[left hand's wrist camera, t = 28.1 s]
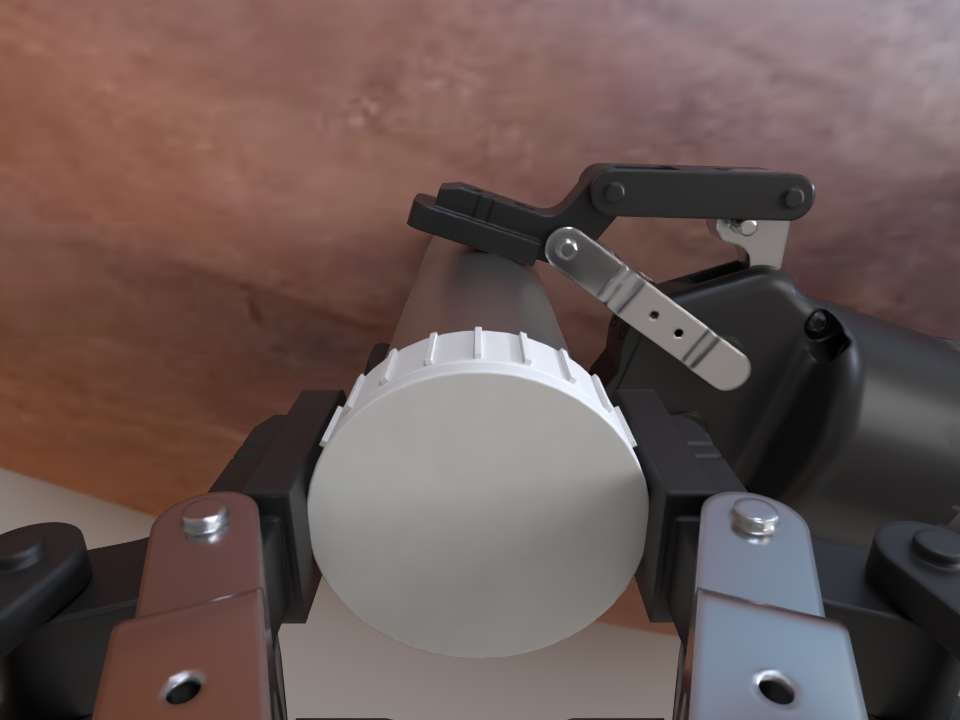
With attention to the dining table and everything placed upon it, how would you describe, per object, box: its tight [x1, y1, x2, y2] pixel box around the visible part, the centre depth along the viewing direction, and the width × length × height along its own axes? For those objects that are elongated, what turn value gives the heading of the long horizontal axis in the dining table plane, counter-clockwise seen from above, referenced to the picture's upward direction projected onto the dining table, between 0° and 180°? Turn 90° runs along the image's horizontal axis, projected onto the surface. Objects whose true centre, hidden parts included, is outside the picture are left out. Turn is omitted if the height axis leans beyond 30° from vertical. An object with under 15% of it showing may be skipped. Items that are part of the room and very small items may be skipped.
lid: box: [307, 327, 649, 658], centre depth 10 cm, size 5×5×2 cm
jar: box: [385, 235, 572, 360], centre depth 18 cm, size 4×4×16 cm
